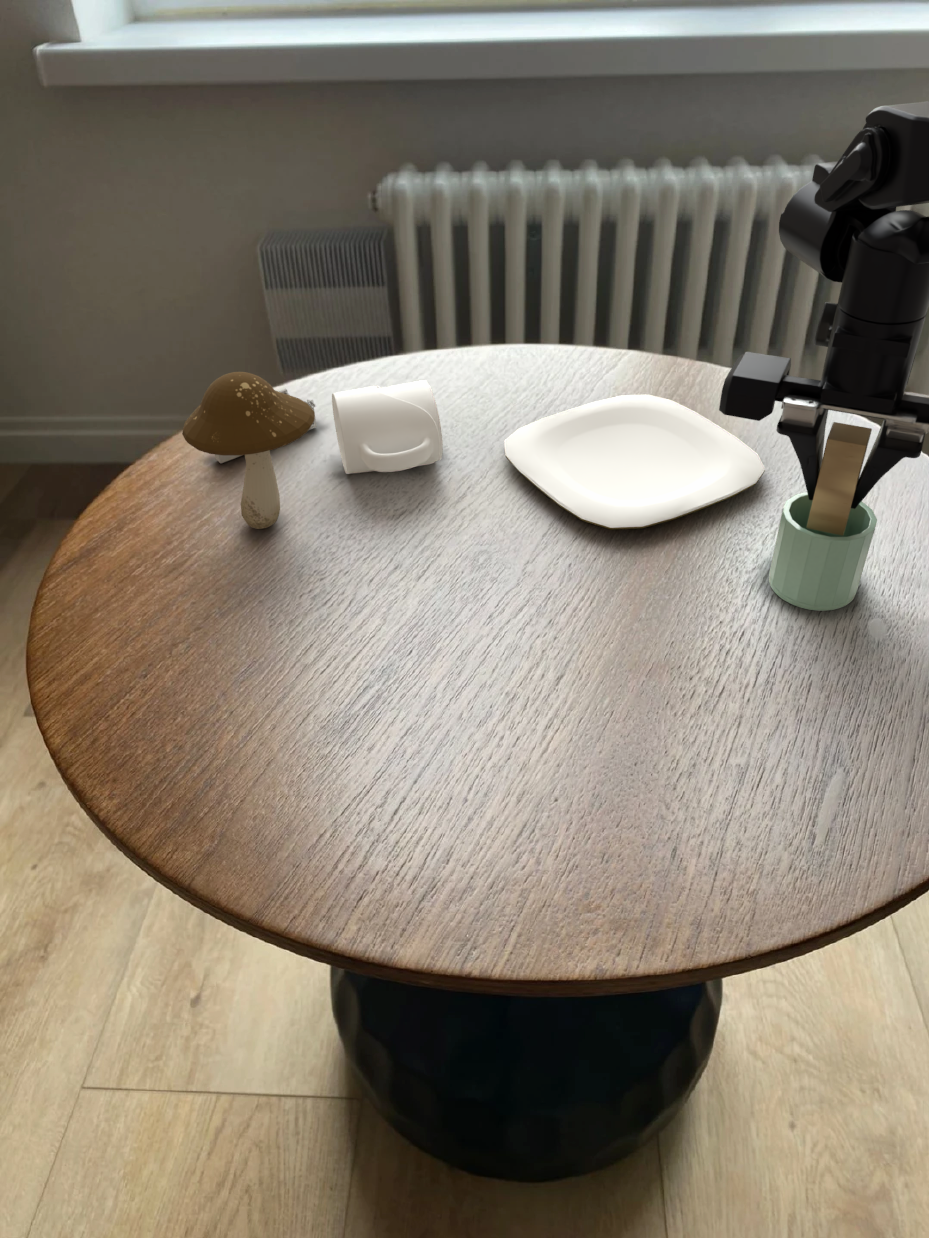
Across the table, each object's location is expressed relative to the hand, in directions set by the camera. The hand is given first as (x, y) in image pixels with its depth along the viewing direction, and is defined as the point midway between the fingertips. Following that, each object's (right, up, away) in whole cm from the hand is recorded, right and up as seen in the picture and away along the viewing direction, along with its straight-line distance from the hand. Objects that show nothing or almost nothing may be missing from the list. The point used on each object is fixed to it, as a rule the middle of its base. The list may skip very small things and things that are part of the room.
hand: (833, 501), depth 75 cm
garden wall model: (-50, +9, +26) cm, 57 cm away
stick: (0, -1, +1) cm, 2 cm away
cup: (0, -6, +5) cm, 8 cm away
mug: (-36, +6, +22) cm, 43 cm away
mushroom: (-47, 0, +15) cm, 49 cm away
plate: (-12, +6, +20) cm, 25 cm away
